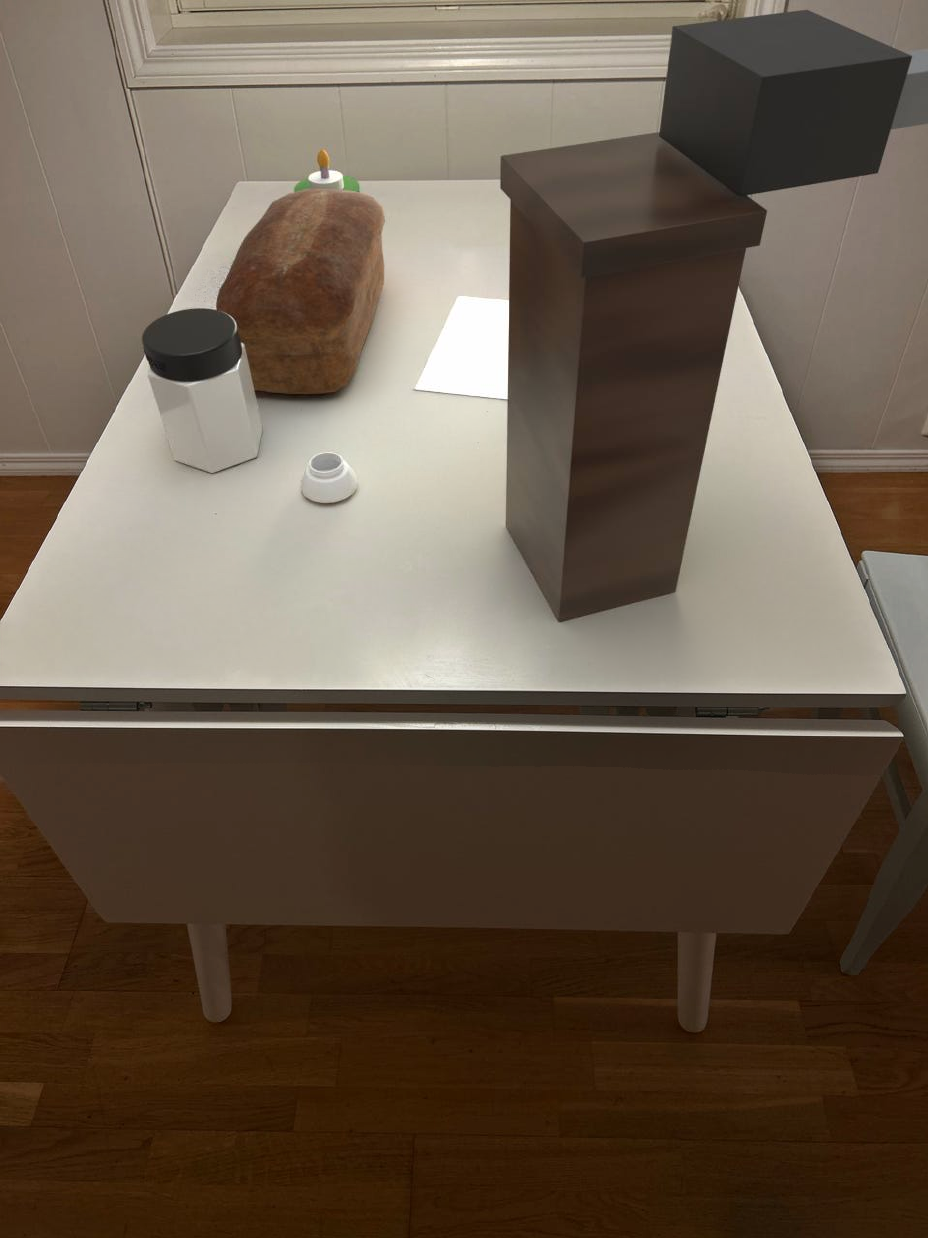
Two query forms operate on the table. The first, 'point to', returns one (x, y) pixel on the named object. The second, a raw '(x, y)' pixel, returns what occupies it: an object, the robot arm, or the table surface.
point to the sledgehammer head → (787, 99)
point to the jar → (203, 388)
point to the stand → (614, 359)
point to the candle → (327, 178)
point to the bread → (307, 289)
